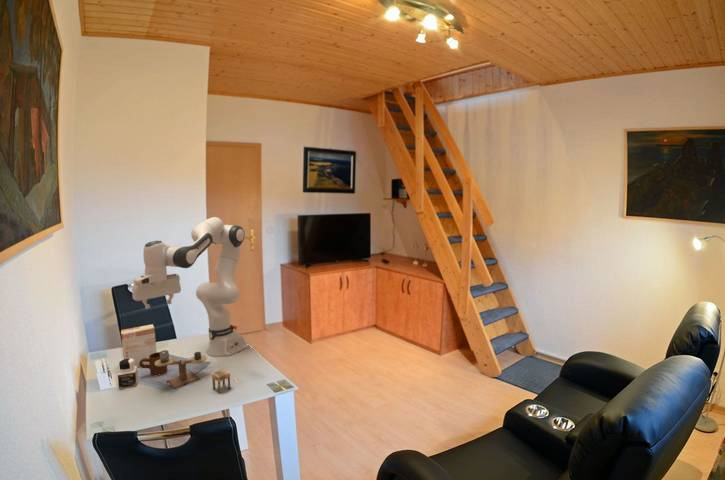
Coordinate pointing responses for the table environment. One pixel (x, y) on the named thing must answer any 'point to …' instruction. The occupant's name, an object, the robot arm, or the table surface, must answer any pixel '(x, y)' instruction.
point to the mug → (153, 364)
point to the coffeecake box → (138, 343)
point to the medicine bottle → (127, 374)
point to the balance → (183, 370)
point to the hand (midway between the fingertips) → (158, 306)
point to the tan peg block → (221, 379)
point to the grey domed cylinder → (164, 356)
